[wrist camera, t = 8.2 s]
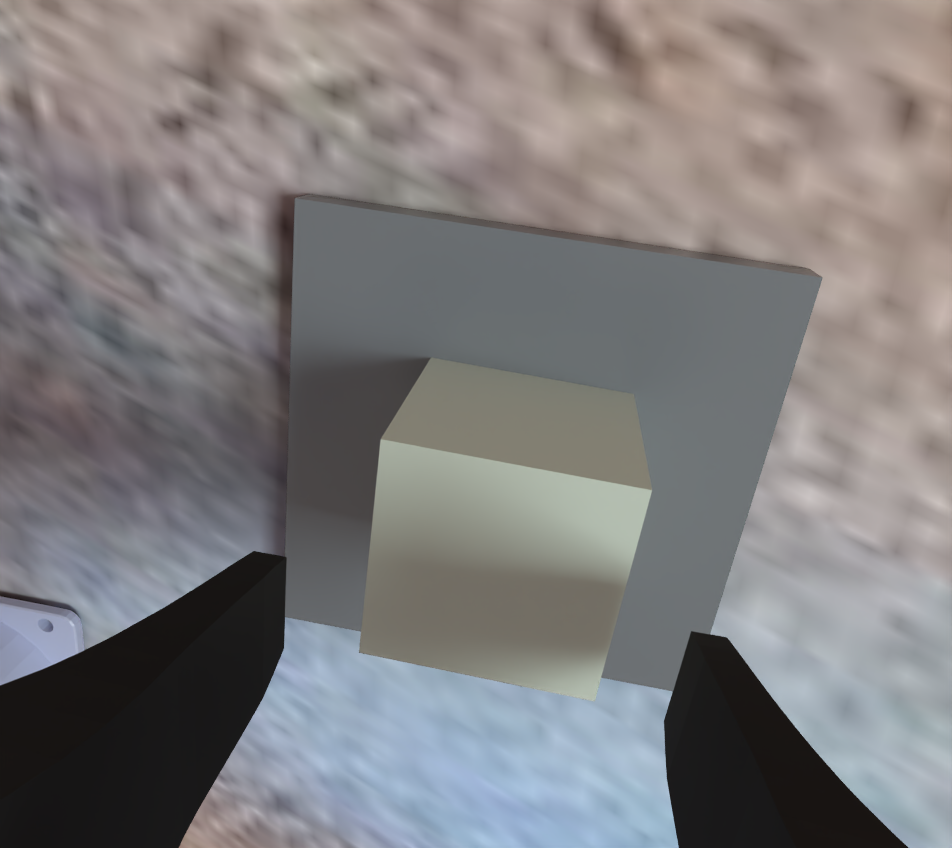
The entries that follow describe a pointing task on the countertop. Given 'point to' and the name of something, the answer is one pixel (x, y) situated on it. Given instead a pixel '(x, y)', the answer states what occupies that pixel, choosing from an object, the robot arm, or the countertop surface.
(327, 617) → the slate tile
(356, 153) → the countertop surface
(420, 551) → the cube
